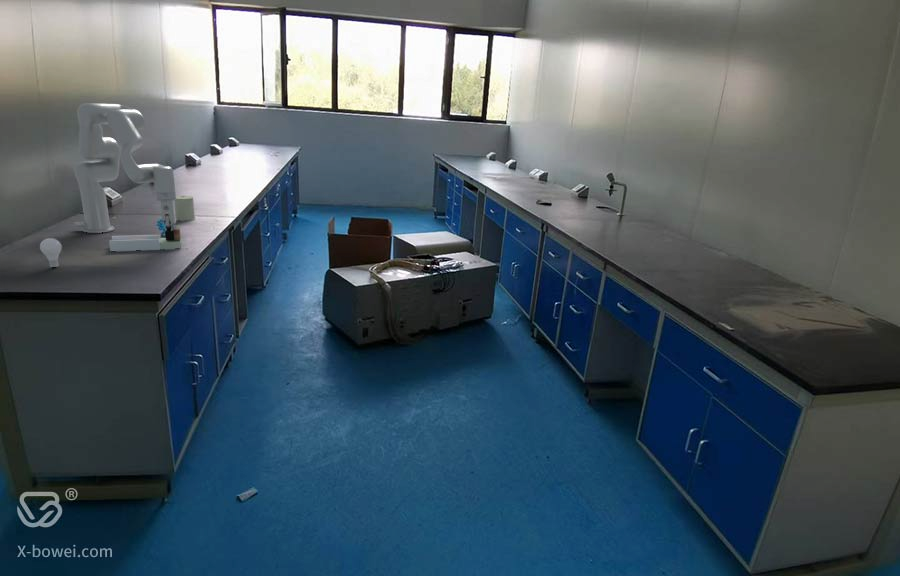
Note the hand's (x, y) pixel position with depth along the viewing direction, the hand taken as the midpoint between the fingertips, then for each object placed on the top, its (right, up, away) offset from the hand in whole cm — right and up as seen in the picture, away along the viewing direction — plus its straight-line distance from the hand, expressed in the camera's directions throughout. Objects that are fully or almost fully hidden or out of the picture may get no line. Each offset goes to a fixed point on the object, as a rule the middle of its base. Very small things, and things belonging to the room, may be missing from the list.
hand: (170, 238), depth 231 cm
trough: (-9, -4, -2) cm, 10 cm away
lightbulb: (-25, -14, -34) cm, 44 cm away
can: (-19, +15, +52) cm, 57 cm away
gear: (-10, +3, +19) cm, 21 cm away
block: (+1, -1, +1) cm, 2 cm away
